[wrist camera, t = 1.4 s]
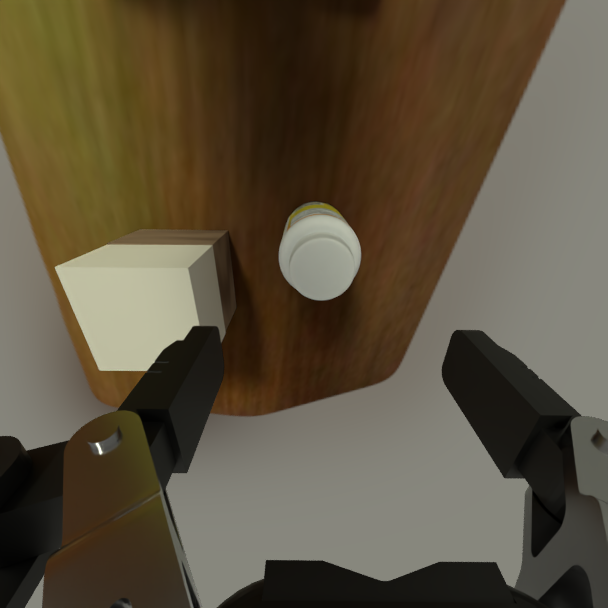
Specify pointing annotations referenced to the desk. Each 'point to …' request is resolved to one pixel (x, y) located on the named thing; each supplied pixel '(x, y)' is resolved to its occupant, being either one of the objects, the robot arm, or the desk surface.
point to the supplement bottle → (319, 251)
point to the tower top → (141, 299)
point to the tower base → (195, 238)
